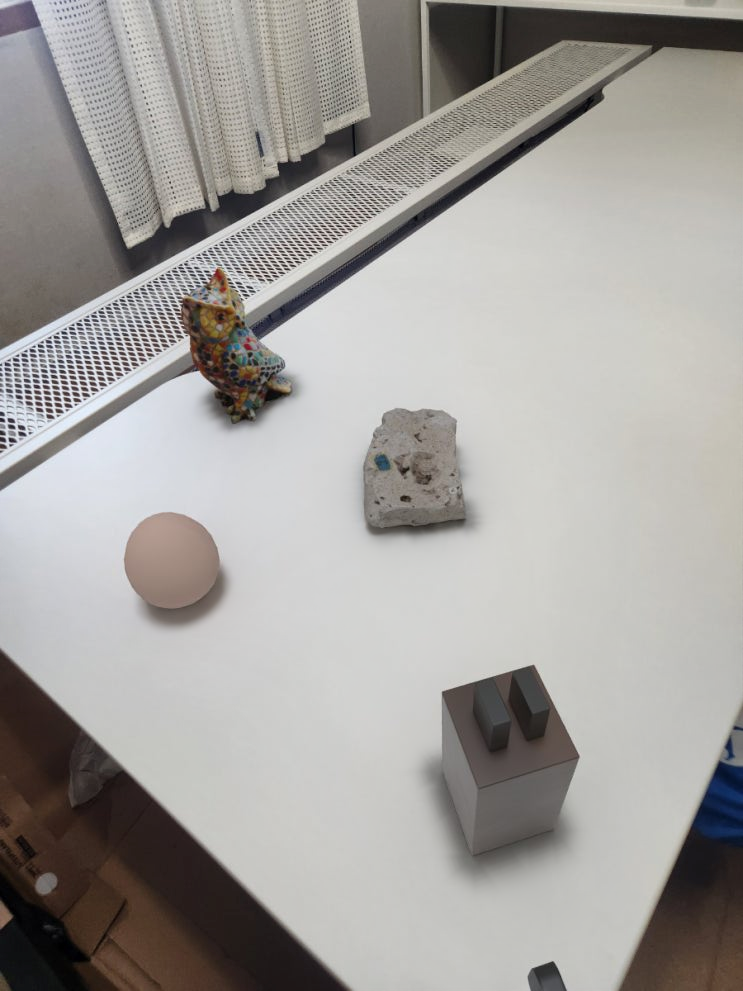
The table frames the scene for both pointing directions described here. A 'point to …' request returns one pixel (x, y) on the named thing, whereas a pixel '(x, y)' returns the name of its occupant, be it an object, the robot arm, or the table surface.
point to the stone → (413, 470)
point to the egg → (171, 560)
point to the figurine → (231, 350)
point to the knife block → (505, 758)
